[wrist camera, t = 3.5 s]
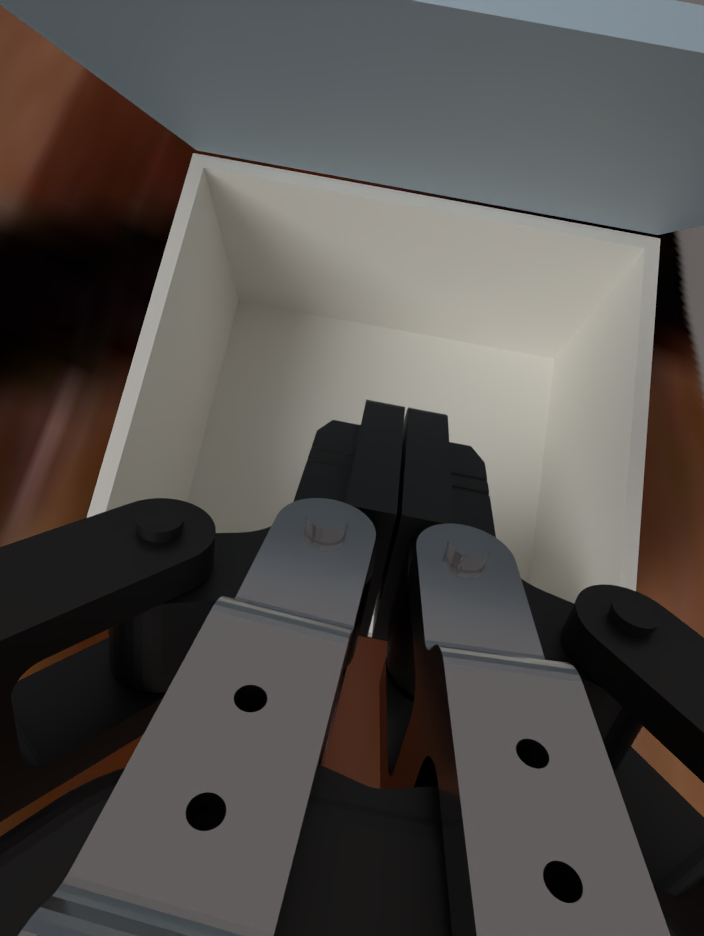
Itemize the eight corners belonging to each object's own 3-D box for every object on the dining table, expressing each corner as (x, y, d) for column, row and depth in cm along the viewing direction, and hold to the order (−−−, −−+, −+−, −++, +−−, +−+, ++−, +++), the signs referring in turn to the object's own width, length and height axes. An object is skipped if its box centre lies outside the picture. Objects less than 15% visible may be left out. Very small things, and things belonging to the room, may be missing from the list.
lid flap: (1134, 130, 10) (1154, 86, 10) (-141, -100, 10) (-142, -147, 10) (658, 235, 27) (662, 219, 27) (196, 150, 27) (198, 134, 27)
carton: (526, 666, 34) (629, 681, 23) (155, 596, 35) (69, 576, 23) (560, 357, 39) (660, 238, 27) (232, 296, 39) (193, 152, 27)
